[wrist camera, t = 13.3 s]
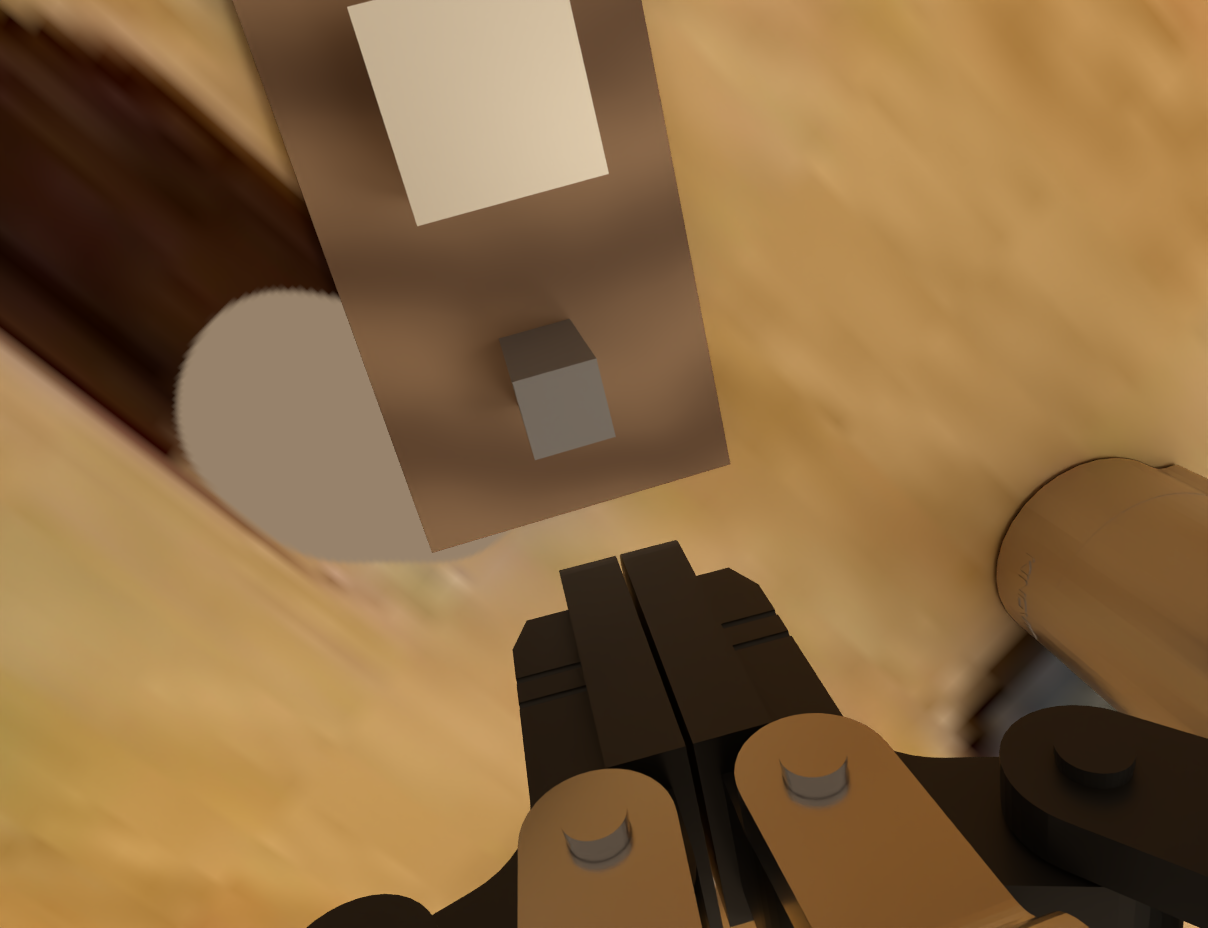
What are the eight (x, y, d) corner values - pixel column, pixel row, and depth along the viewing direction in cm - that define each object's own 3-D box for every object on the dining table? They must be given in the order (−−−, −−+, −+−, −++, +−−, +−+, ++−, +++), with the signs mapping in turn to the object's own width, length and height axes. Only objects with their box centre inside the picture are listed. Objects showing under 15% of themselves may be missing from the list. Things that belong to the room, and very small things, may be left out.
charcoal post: (569, 318, 31) (596, 358, 26) (587, 386, 32) (615, 436, 27) (498, 338, 31) (512, 382, 26) (518, 405, 32) (534, 460, 27)
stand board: (229, -26, 27) (220, -32, 26) (609, -118, 28) (617, -127, 27) (432, 538, 35) (432, 552, 34) (721, 453, 36) (730, 464, 35)
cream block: (529, -14, 27) (558, -48, 21) (571, 159, 29) (608, 173, 23) (364, 29, 27) (346, 7, 21) (419, 201, 29) (417, 226, 23)
